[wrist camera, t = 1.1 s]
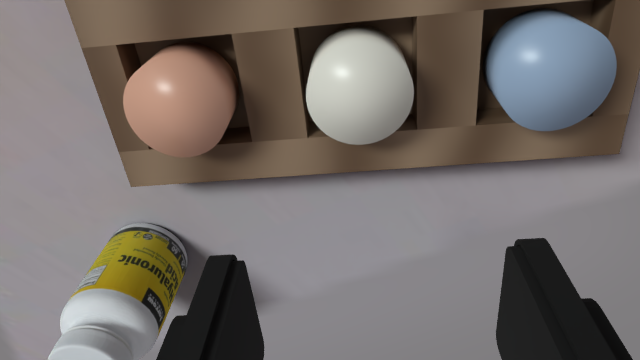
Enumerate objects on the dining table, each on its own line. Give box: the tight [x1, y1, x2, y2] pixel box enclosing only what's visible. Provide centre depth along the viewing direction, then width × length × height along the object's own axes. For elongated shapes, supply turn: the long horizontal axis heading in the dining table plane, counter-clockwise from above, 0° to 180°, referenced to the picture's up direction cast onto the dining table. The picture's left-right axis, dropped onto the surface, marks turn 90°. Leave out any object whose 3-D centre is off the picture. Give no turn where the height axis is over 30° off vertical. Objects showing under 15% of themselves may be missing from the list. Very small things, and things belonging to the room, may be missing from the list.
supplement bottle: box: [48, 223, 187, 360], centre depth 29 cm, size 5×5×10 cm
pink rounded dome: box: [123, 42, 239, 157], centre depth 24 cm, size 5×5×3 cm
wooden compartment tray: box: [65, 0, 640, 187], centre depth 24 cm, size 26×10×3 cm, turn 96°
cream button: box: [306, 26, 414, 145], centre depth 23 cm, size 5×5×3 cm
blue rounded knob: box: [483, 8, 617, 131], centre depth 22 cm, size 5×5×3 cm
